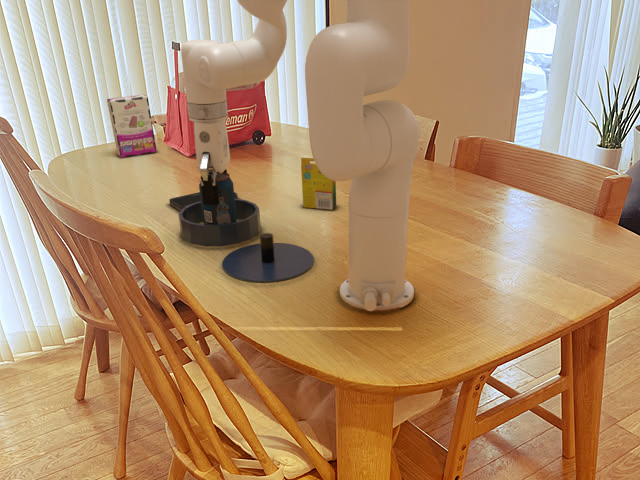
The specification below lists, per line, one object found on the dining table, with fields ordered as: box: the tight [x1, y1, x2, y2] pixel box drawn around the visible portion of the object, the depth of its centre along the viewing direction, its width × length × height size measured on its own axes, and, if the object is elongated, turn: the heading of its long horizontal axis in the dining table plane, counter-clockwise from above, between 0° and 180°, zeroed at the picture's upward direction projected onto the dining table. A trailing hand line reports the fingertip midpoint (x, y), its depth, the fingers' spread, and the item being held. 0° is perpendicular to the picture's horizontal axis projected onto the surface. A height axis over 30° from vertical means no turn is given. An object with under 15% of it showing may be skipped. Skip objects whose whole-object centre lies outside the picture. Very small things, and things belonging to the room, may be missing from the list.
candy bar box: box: [106, 94, 158, 159], centre depth 187 cm, size 11×5×16 cm, turn 119°
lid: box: [221, 232, 315, 284], centre depth 117 cm, size 17×17×6 cm
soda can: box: [198, 172, 238, 225], centre depth 130 cm, size 7×7×12 cm
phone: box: [168, 191, 239, 212], centre depth 151 cm, size 8×1×15 cm
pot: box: [177, 198, 262, 247], centre depth 132 cm, size 16×16×5 cm
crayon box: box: [300, 157, 337, 211], centre depth 143 cm, size 7×3×12 cm, turn 70°
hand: (216, 196), depth 129 cm, fingers open, 9 cm apart
